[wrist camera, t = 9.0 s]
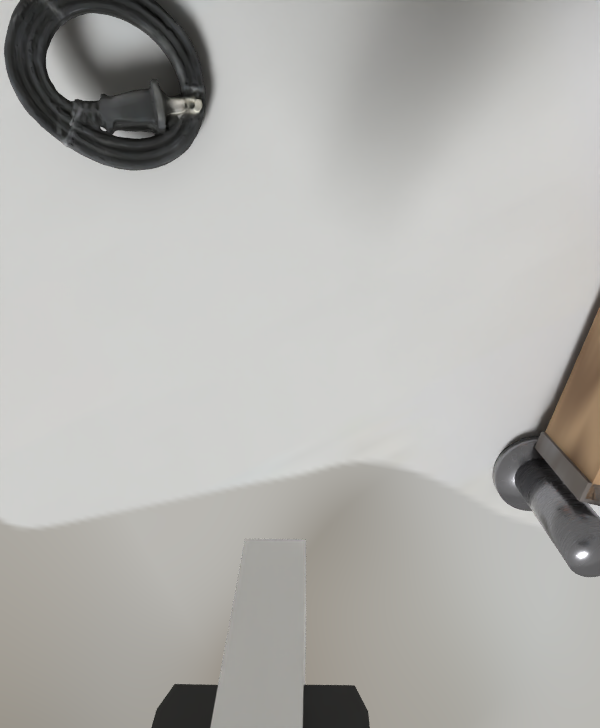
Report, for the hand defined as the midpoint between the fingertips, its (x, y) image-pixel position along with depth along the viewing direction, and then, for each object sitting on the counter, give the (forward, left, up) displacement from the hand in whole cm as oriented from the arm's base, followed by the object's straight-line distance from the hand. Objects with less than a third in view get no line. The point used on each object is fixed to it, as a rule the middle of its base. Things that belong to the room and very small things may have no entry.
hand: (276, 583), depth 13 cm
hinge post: (+2, +15, -16) cm, 22 cm away
